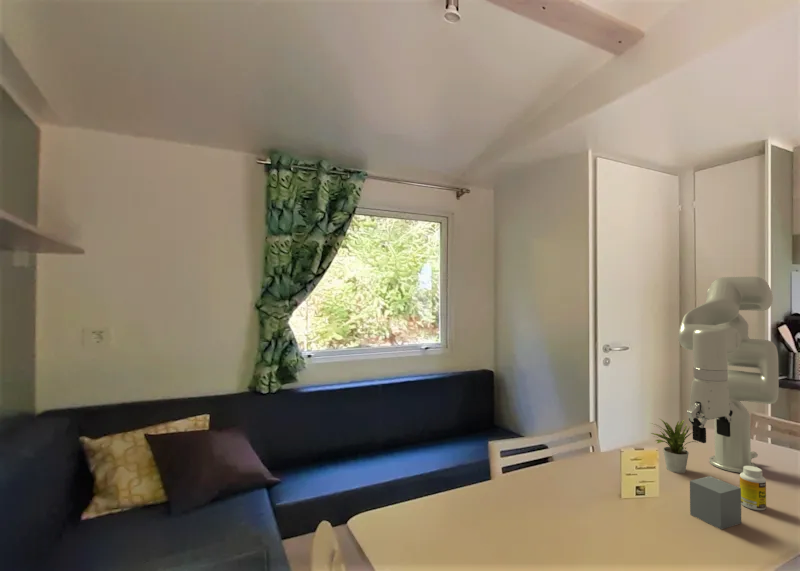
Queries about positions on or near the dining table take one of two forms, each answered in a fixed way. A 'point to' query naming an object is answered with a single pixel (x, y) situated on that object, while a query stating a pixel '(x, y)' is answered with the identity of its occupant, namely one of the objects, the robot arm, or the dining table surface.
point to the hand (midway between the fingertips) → (711, 438)
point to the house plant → (675, 447)
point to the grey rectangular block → (715, 502)
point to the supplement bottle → (753, 488)
